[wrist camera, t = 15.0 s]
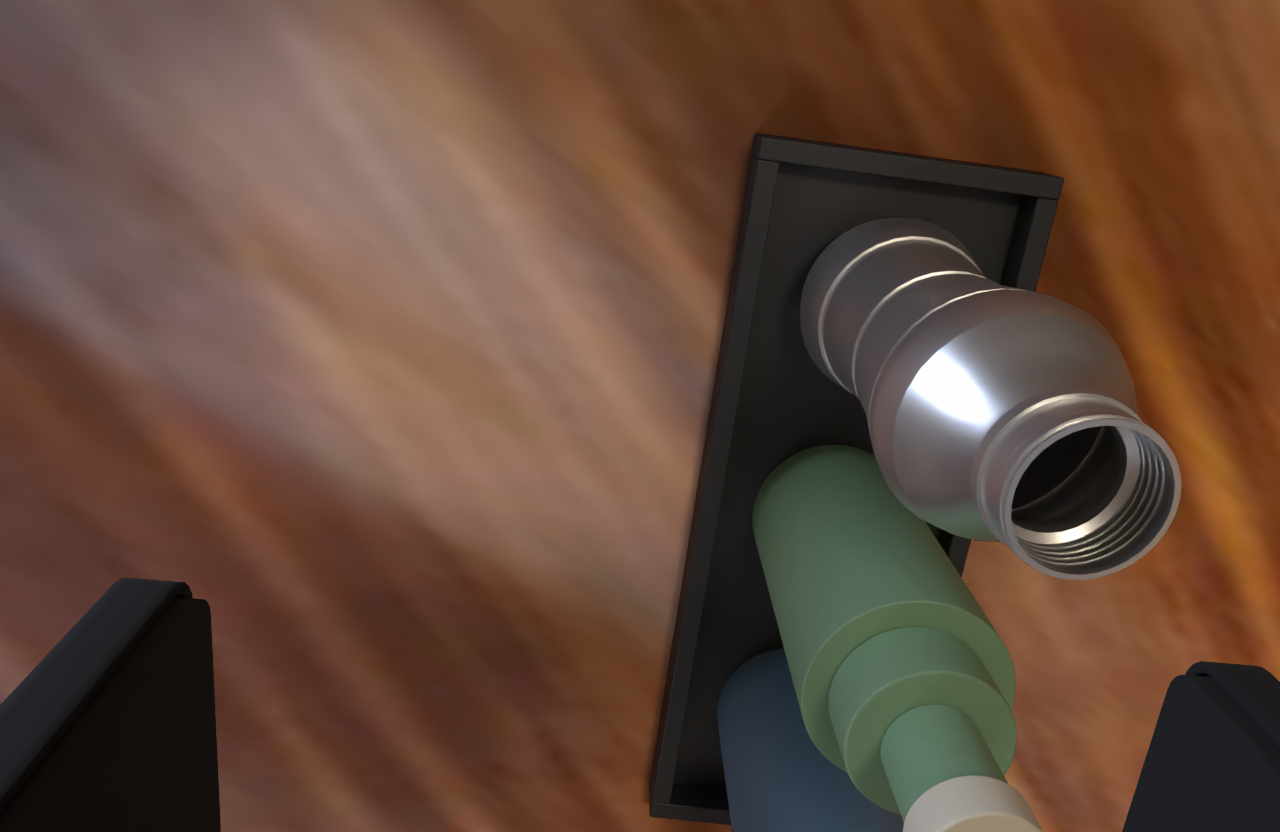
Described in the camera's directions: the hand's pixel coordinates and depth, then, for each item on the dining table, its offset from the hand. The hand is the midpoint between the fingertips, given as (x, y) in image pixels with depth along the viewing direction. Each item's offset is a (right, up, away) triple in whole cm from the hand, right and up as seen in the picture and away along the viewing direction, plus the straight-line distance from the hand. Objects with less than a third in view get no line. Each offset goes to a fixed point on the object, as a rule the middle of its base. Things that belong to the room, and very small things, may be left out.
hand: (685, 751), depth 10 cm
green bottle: (+7, -1, +33) cm, 34 cm away
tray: (+7, -1, +34) cm, 34 cm away
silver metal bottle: (+9, +8, +30) cm, 32 cm away
